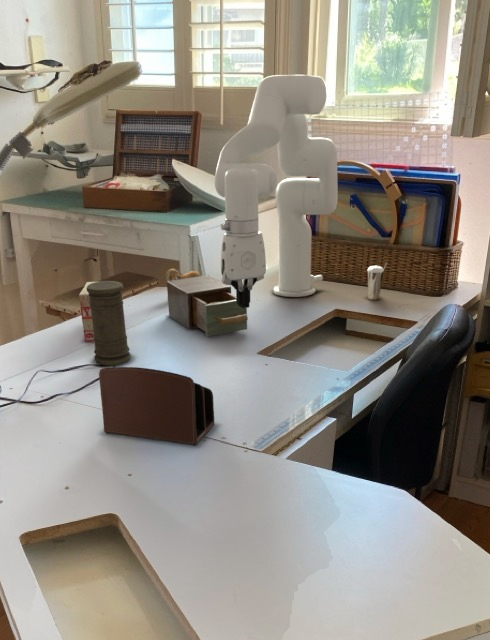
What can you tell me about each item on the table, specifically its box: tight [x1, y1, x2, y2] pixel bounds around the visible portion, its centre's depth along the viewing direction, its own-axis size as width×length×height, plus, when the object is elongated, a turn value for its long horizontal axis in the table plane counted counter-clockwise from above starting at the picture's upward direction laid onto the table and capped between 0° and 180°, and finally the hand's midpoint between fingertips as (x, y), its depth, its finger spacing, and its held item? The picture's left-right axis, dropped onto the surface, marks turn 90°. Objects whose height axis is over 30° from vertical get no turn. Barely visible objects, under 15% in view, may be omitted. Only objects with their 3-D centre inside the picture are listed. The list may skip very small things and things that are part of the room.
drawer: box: [190, 290, 248, 337], centre depth 212 cm, size 18×11×8 cm, turn 25°
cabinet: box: [166, 274, 232, 330], centre depth 222 cm, size 15×13×10 cm
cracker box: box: [78, 281, 96, 343], centre depth 216 cm, size 21×6×12 cm, turn 179°
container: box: [87, 280, 132, 367], centre depth 193 cm, size 9×9×18 cm
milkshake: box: [366, 262, 388, 301], centre depth 234 cm, size 4×5×10 cm
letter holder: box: [98, 366, 215, 446], centre depth 158 cm, size 10×20×14 cm, turn 69°
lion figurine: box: [165, 268, 202, 282], centre depth 243 cm, size 15×5×9 cm, turn 136°
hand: (243, 306), depth 198 cm, fingers closed
